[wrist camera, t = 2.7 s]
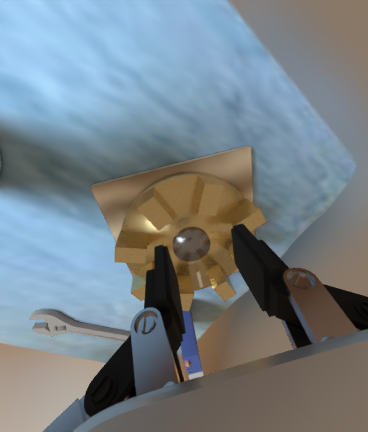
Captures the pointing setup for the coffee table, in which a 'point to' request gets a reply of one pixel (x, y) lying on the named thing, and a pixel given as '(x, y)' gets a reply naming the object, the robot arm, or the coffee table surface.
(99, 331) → the adjustable wrench
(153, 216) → the bevel gear
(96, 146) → the coffee table surface
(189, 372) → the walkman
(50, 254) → the coffee table surface
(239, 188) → the base plate
